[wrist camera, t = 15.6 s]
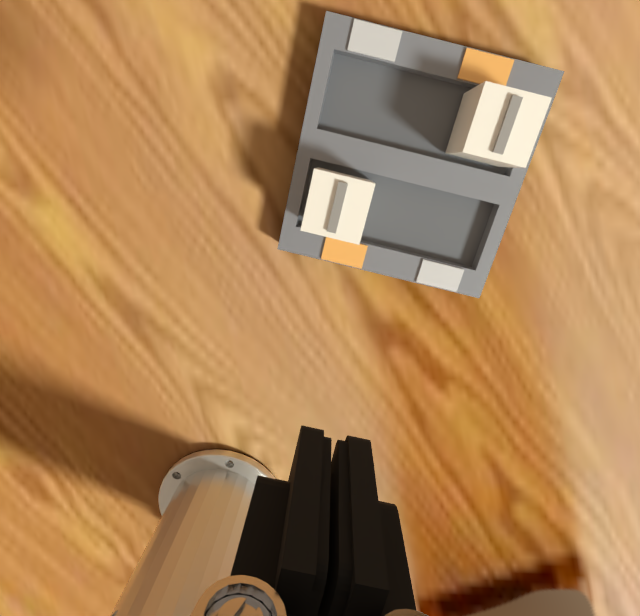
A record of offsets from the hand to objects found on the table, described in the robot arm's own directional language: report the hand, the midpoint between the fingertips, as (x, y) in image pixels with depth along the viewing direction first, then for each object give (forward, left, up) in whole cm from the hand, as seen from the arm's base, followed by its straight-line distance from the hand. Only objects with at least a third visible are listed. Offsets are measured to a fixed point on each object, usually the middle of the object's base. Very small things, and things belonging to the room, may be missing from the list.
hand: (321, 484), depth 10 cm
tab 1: (+11, -8, -25) cm, 29 cm away
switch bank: (+8, -3, -27) cm, 28 cm away
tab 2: (+4, +1, -25) cm, 26 cm away
